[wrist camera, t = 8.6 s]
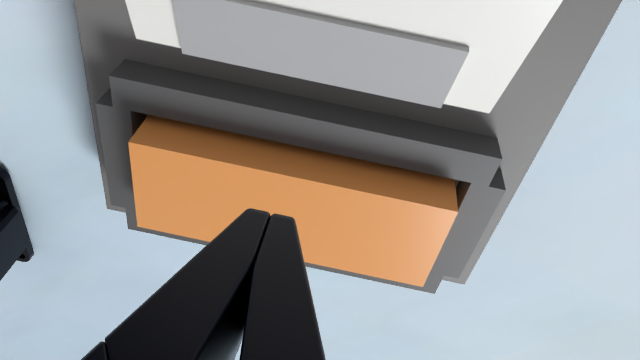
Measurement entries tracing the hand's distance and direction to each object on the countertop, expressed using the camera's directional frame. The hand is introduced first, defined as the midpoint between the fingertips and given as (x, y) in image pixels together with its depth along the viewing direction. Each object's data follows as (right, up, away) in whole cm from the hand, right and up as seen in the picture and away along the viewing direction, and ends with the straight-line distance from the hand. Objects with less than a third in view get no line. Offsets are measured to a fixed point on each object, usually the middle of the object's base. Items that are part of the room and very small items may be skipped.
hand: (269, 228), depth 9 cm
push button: (0, +1, +10) cm, 10 cm away
